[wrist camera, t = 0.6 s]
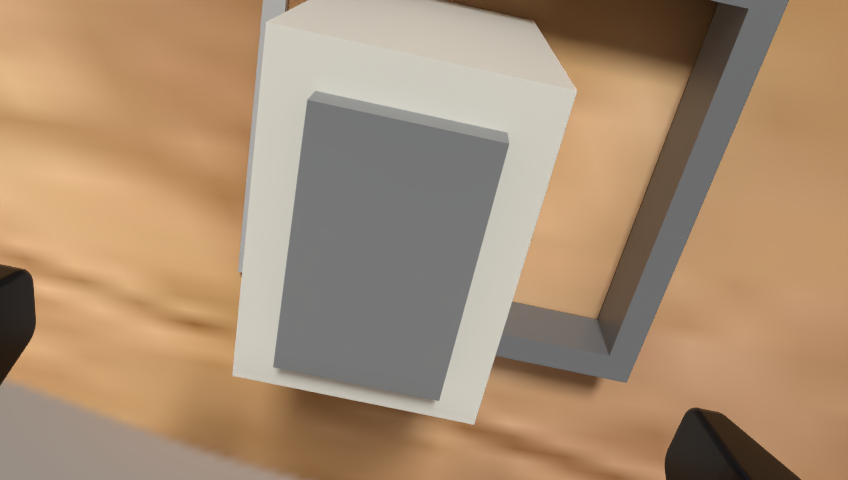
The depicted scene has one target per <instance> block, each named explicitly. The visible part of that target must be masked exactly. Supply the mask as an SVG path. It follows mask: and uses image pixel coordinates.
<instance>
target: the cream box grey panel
mask: <svg viewBox="0 0 848 480" xmlns="http://www.w3.org/2000/svg"><path fill="white" fill-rule="evenodd" d="M576 93H577V90H576V88H575V86H574V85H573V83H572V82H571V80H570V78H569V77H568V75H567V74H566V72H565V70H564V69H563V67H562V65H561V64H560V62H559V61H558V59H557V57H556V56H555V54H554V53H553V51H552V49H551V48H550V46H549V44H548V43H547V41H546V40H545V38H544V36H543V35H542V33H541V32H540V30H539V28H538V27H537V25H536V23H535V22H534V20H529V19H525V18H520V17H516V16H512V15H507V14H503V13H498V12H494V11H489V10H485V9H480V8H476V7H471V6H467V5H462V4H458V3H453V2H449V1H445V0H308V1H306V2H304V3H302V4H300V5H298V6H296V7H294V8H292V9H290V10H288V11H286V12H284V13H283V14H281V15H279V16H277V17H275V18H273V19H271V20H269V21H267V22H266V28H265V38H264V49H263V59H262V70H261V80H260V91H259V101H258V112H257V122H256V133H255V143H254V154H253V164H252V175H251V185H250V196H249V207H248V217H247V228H246V238H245V249H244V259H243V270H242V280H241V291H240V301H239V312H238V322H237V333H236V343H235V354H234V364H233V375H232V376H236V377H241V378H246V379H251V380H256V381H261V382H266V383H271V384H276V385H281V386H286V387H291V388H296V389H301V390H305V391H310V392H315V393H320V394H325V395H330V396H335V397H340V398H345V399H350V400H355V401H360V402H365V403H370V404H375V405H380V406H384V407H389V408H394V409H399V410H404V411H409V412H414V413H419V414H424V415H429V416H434V417H439V418H444V419H449V420H454V421H459V422H464V423H468V424H473V425H474V423H475V420H476V417H477V414H478V410H479V407H480V404H481V401H482V397H483V394H484V391H485V388H486V385H487V381H488V378H489V375H490V372H491V368H492V365H493V362H494V359H495V355H496V352H497V349H498V346H499V342H500V339H501V336H502V333H503V329H504V326H505V323H506V320H507V317H508V313H509V310H510V307H511V304H512V300H513V297H514V294H515V291H516V287H517V284H518V281H519V278H520V274H521V271H522V268H523V265H524V261H525V258H526V255H527V252H528V248H529V245H530V242H531V239H532V236H533V232H534V229H535V226H536V223H537V219H538V216H539V213H540V210H541V206H542V203H543V200H544V197H545V193H546V190H547V187H548V184H549V180H550V177H551V174H552V171H553V168H554V164H555V161H556V158H557V155H558V151H559V148H560V145H561V142H562V138H563V135H564V132H565V129H566V125H567V122H568V119H569V116H570V112H571V109H572V106H573V103H574V100H575V96H576Z"/></svg>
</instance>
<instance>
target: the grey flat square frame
mask: <svg viewBox="0 0 848 480" xmlns="http://www.w3.org/2000/svg"><path fill="white" fill-rule="evenodd" d="M712 1H716V2H718V5H717V7H716V10H715V13H714V15H713V18H712V21H711V23H710V26H709V28H708V31H707V34H706V36H705V39H704V42H703V44H702V47H701V49H700V52H699V55H698V57H697V60H696V63H695V65H694V68H693V70H692V73H691V76H690V78H689V81H688V84H687V86H686V89H685V91H684V94H683V97H682V99H681V102H680V105H679V107H678V110H677V112H676V115H675V118H674V120H673V123H672V126H671V128H670V131H669V133H668V136H667V139H666V141H665V144H664V147H663V149H662V152H661V154H660V157H659V160H658V162H657V165H656V168H655V170H654V173H653V175H652V178H651V181H650V183H649V186H648V189H647V191H646V194H645V196H644V199H643V202H642V204H641V207H640V210H639V212H638V215H637V217H636V220H635V223H634V225H633V228H632V231H631V233H630V236H629V239H628V241H627V244H626V246H625V249H624V252H623V254H622V257H621V260H620V262H619V265H618V267H617V270H616V273H615V275H614V278H613V281H612V283H611V286H610V288H609V291H608V294H607V296H606V299H605V302H604V304H603V307H602V309H601V312H600V315H599V317H598V320H597V319H592V318H587V317H583V316H578V315H573V314H568V313H563V312H559V311H554V310H549V309H544V308H539V307H535V306H530V305H525V304H520V303H516V302H512V304H511V307H510V310H509V313H508V317H507V320H506V323H505V326H504V329H503V333H502V336H501V339H500V342H499V346H498V349H497V352H496V355H495V356H499V357H504V358H509V359H513V360H518V361H523V362H528V363H533V364H538V365H543V366H547V367H552V368H557V369H562V370H567V371H572V372H577V373H581V374H586V375H591V376H596V377H601V378H606V379H611V380H615V381H620V382H625V383H627V380H628V378H629V376H630V373H631V371H632V369H633V366H634V364H635V362H636V359H637V357H638V354H639V352H640V350H641V347H642V345H643V343H644V340H645V338H646V336H647V333H648V331H649V329H650V326H651V324H652V322H653V319H654V317H655V314H656V312H657V310H658V307H659V305H660V303H661V300H662V298H663V296H664V293H665V291H666V289H667V286H668V284H669V281H670V279H671V277H672V274H673V272H674V270H675V267H676V265H677V263H678V260H679V258H680V256H681V253H682V251H683V249H684V246H685V244H686V241H687V239H688V237H689V234H690V232H691V230H692V227H693V225H694V223H695V220H696V218H697V216H698V213H699V211H700V209H701V206H702V204H703V201H704V199H705V197H706V194H707V192H708V190H709V187H710V185H711V183H712V180H713V178H714V176H715V173H716V171H717V169H718V166H719V164H720V161H721V159H722V157H723V154H724V152H725V150H726V147H727V145H728V143H729V140H730V138H731V136H732V133H733V131H734V129H735V126H736V124H737V121H738V119H739V117H740V114H741V112H742V110H743V107H744V105H745V103H746V100H747V98H748V96H749V93H750V91H751V88H752V86H753V84H754V81H755V79H756V77H757V74H758V72H759V70H760V67H761V65H762V63H763V60H764V58H765V56H766V53H767V51H768V48H769V46H770V44H771V41H772V39H773V37H774V34H775V32H776V30H777V27H778V25H779V23H780V20H781V18H782V16H783V13H784V11H785V8H786V6H787V4H788V1H789V0H712ZM288 2H289V0H263V7H262V17H261V28H260V39H259V50H258V61H257V72H256V82H255V93H254V104H253V115H252V126H251V137H250V148H249V158H248V169H247V180H246V191H245V202H244V213H243V223H242V234H241V245H240V256H239V267H238V272H242V270H243V259H244V249H245V238H246V228H247V217H248V207H249V196H250V185H251V175H252V164H253V154H254V143H255V133H256V122H257V112H258V101H259V91H260V80H261V70H262V59H263V49H264V38H265V28H266V22H267V21H269V20H271V19H273V18H275V17H277V16H279V15H281V14H283V13H284V12H286V11H288Z"/></svg>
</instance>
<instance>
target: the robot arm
mask: <svg viewBox="0 0 848 480" xmlns="http://www.w3.org/2000/svg"><path fill="white" fill-rule="evenodd" d="M35 325H36V315H35V301H34V286H33V279H32V276H31V274H30V273H29V272H28V271H27V270H25V269H21V268H16V267H11V266H6V265H1V264H0V385H1V384H2V382H3V381H4V379H5V378H6V376H7V375H8V373H9V372H10V370H11V369H12V367H13V366H14V364H15V363H16V361H17V360H18V358H19V357H20V355H21V354H22V352H23V351H24V349H25V348H26V346H27V345H28V343H29V341H30V340H31V338H32V336H33V333H34V330H35ZM665 475H666V480H801V479H800V478H799V477H797V476H796V475H795V474H794V473H793V472H791V471H790V470H789V469H788V468H787V467H786V466H784V465H783V464H782V463H781V462H780V461H778V460H777V459H776V458H775V457H774V456H772V455H771V454H770V453H769V452H768V451H766V450H765V449H764V448H763V447H762V446H761V445H759V444H758V443H757V442H756V441H755V440H753V439H752V438H751V437H750V436H749V435H747V434H746V433H745V432H744V431H743V430H741V429H740V428H739V427H738V426H737V425H736V424H734V423H733V422H732V421H731V420H730V419H728V418H727V417H726V416H725V415H723V414H722V413H719V412H715V411H710V410H705V409H701V408H691V409H689V410H688V411H687V412H686V413H685V415H684V417H683V419H682V421H681V423H680V425H679V427H678V429H677V431H676V433H675V435H674V438H673V440H672V442H671V444H670V446H669V448H668V450H667V453H666V457H665Z"/></svg>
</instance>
